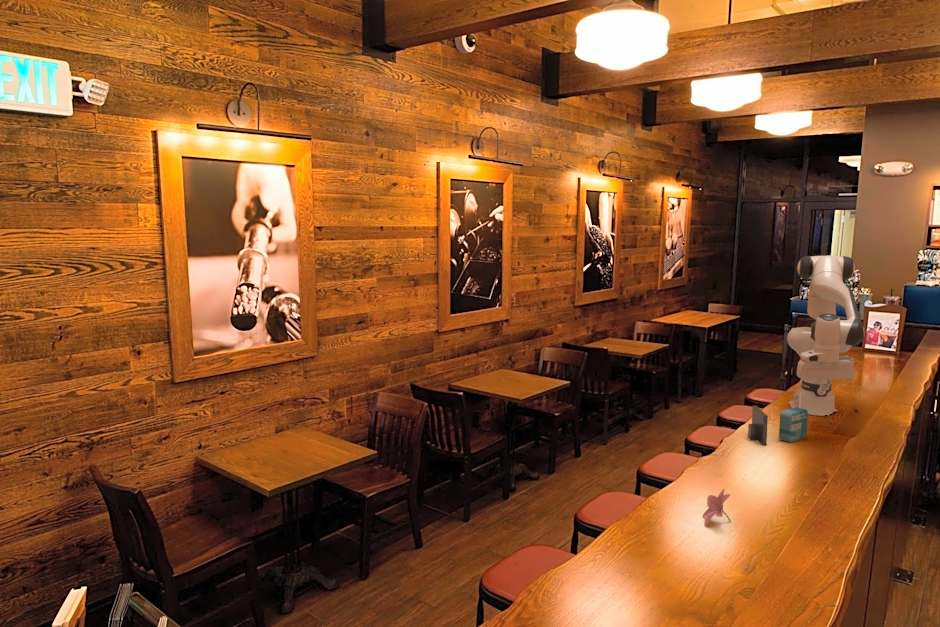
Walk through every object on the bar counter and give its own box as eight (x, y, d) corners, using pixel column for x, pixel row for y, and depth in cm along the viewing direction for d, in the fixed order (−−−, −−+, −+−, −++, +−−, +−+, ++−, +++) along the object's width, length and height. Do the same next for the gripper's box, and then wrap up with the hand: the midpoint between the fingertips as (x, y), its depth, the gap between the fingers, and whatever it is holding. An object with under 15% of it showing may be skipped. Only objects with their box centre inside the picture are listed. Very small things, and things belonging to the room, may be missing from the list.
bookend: (743, 433, 260) (745, 405, 258) (755, 433, 259) (756, 405, 258) (754, 445, 246) (755, 415, 244) (766, 445, 246) (767, 415, 244)
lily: (711, 511, 193) (696, 487, 192) (748, 507, 186) (733, 481, 184) (703, 539, 184) (688, 513, 183) (742, 535, 177) (727, 508, 175)
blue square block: (789, 443, 247) (790, 414, 246) (778, 440, 251) (779, 411, 249) (806, 437, 253) (808, 408, 252) (796, 434, 257) (797, 406, 256)
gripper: (850, 353, 246) (848, 387, 248) (795, 353, 249) (794, 387, 251) (858, 357, 240) (856, 392, 242) (802, 357, 243) (800, 391, 245)
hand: (824, 389), depth 247 cm, fingers closed
